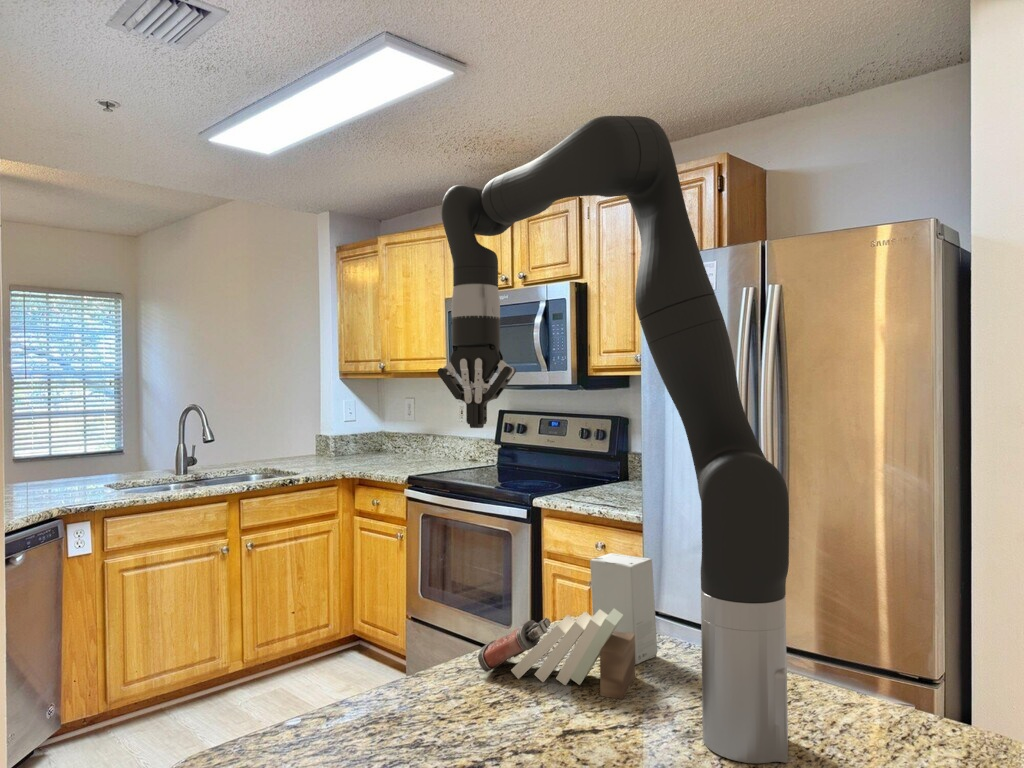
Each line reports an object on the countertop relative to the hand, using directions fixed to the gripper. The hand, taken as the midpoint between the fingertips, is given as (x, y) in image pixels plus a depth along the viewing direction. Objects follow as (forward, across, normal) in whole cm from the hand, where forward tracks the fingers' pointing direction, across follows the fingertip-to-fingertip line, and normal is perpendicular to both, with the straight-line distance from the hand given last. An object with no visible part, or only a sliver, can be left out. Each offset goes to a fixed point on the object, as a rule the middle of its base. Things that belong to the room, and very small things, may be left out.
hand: (476, 427), depth 110 cm
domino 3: (+35, -15, +4) cm, 38 cm away
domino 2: (+34, -12, +4) cm, 37 cm away
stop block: (+35, -23, +4) cm, 42 cm away
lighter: (+34, -3, +4) cm, 34 cm away
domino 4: (+34, -17, +4) cm, 39 cm away
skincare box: (+35, -21, -8) cm, 42 cm away
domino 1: (+34, -9, +4) cm, 36 cm away
